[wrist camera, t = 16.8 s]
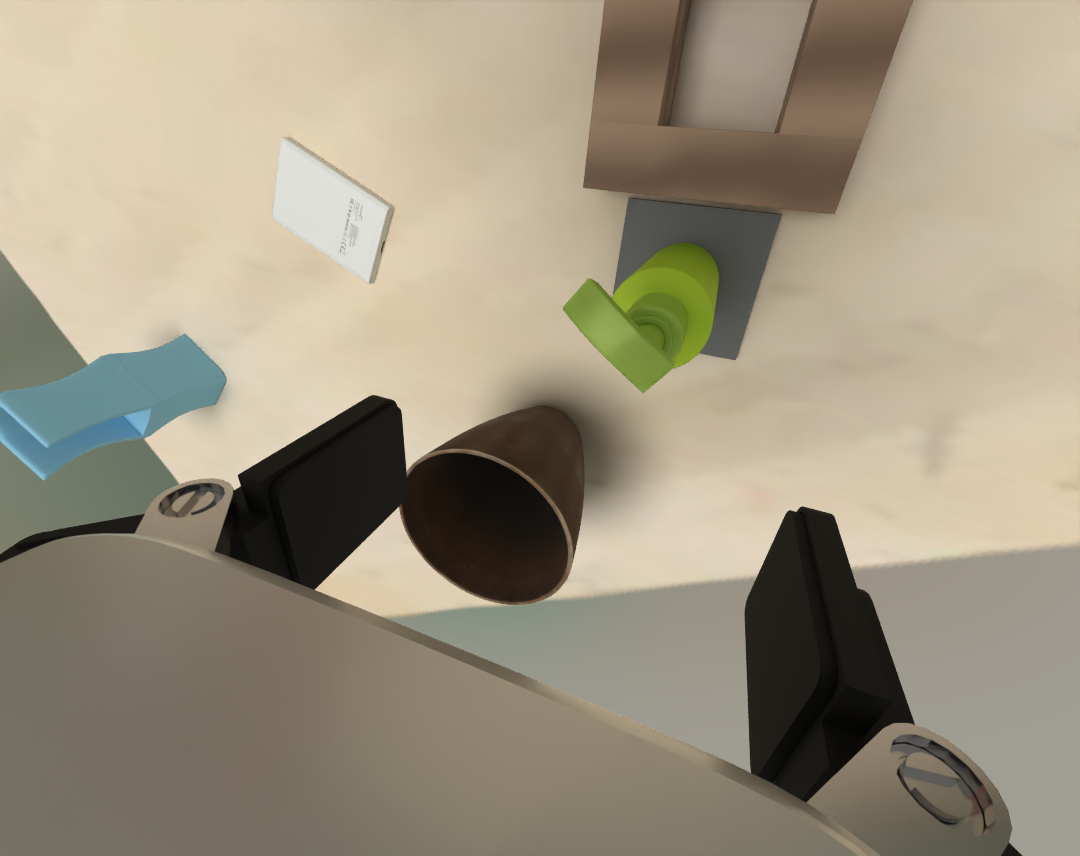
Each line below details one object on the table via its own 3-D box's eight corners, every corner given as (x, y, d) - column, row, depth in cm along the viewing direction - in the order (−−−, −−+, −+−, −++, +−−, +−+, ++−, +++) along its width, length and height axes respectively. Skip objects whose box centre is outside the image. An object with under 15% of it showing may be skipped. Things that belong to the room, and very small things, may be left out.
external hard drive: (294, 138, 44) (398, 206, 43) (283, 218, 49) (377, 282, 48) (280, 136, 43) (387, 207, 42) (271, 219, 47) (367, 285, 47)
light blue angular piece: (214, 408, 67) (44, 481, 50) (173, 368, 66) (-14, 429, 49) (228, 376, 62) (47, 445, 46) (185, 333, 62) (-16, 387, 45)
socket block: (638, -103, 28) (622, -153, 24) (938, -124, 24) (982, -189, 20) (600, 187, 36) (583, 187, 32) (821, 210, 32) (834, 214, 28)
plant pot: (645, 470, 46) (611, 584, 33) (535, 513, 54) (471, 620, 41) (564, 346, 43) (491, 416, 30) (460, 411, 51) (366, 490, 38)
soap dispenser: (673, 215, 35) (619, 241, 18) (735, 280, 35) (738, 364, 19) (619, 273, 38) (531, 341, 21) (676, 332, 38) (634, 443, 22)
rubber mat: (630, 198, 36) (628, 198, 35) (780, 214, 33) (781, 214, 32) (607, 333, 41) (606, 335, 41) (735, 357, 38) (735, 360, 38)
